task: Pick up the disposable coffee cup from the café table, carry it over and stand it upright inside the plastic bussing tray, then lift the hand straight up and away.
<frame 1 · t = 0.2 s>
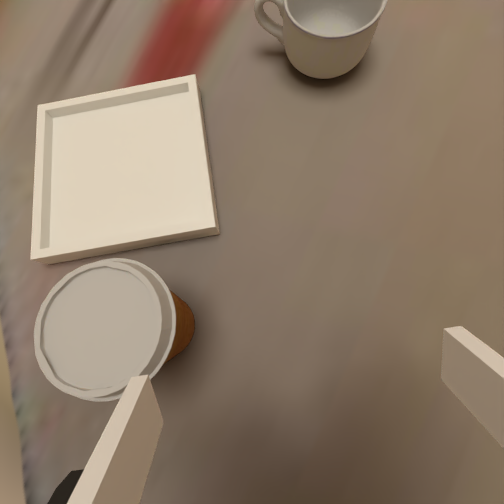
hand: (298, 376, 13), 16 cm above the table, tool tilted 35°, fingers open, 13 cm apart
teacup: (310, 58, 38), on the table
disposable coffee cup: (166, 326, 30), on the table
bussing tray: (129, 171, 35), on the table
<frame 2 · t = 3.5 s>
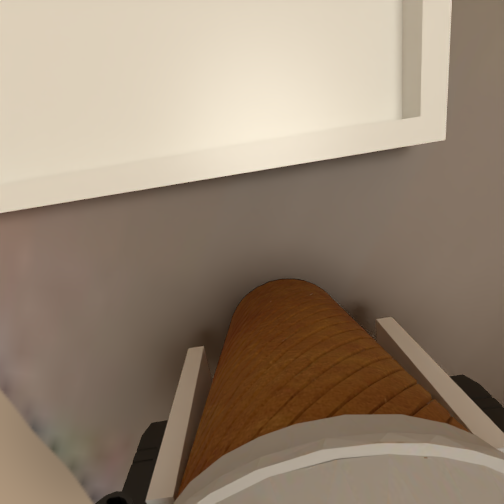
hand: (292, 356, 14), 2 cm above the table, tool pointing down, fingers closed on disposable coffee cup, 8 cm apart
disposable coffee cup: (285, 327, 17), on the table, touching gripper
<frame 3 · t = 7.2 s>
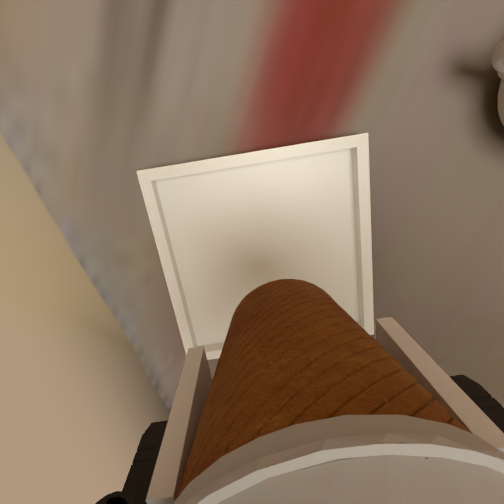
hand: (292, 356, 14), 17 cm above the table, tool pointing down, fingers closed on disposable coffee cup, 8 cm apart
disposable coffee cup: (285, 327, 17), point 14 cm above the table, touching gripper
bussing tray: (265, 253, 30), on the table
when the fingers open (4 cm above the table, at t = 11.2 s): disposable coffee cup moves 3 cm, resting on bussing tray.
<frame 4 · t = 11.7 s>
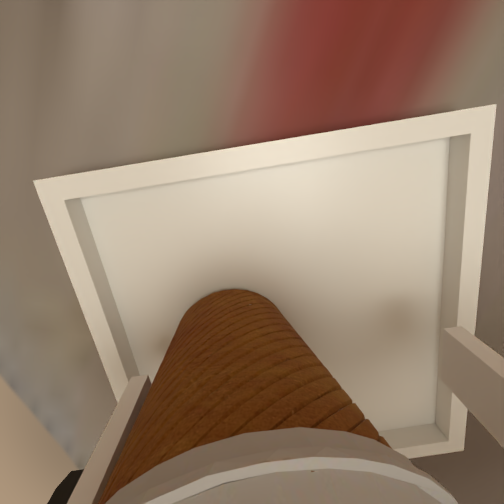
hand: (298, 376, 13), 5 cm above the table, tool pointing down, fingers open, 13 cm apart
disposable coffee cup: (232, 338, 16), point 1 cm above the table, touching bussing tray, gripper
bussing tray: (282, 316, 18), on the table
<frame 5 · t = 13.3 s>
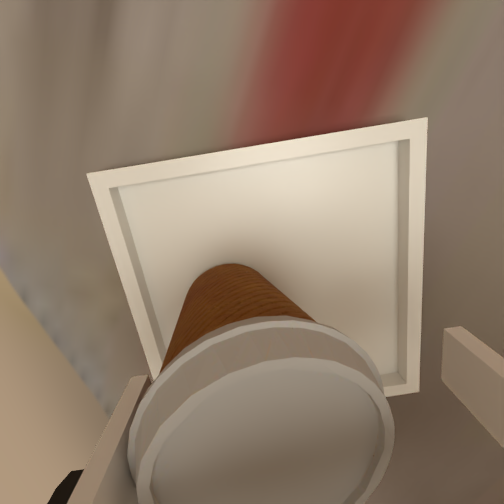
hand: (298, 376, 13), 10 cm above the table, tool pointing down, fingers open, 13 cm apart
disposable coffee cup: (229, 303, 21), point 2 cm above the table, touching bussing tray, gripper
bussing tray: (273, 284, 22), on the table
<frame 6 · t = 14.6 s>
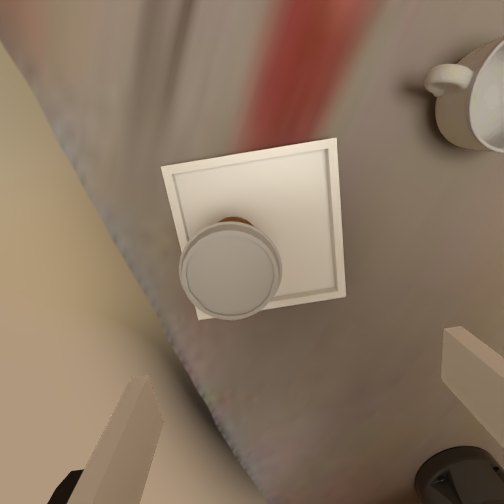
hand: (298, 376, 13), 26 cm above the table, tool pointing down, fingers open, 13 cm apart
teacup: (453, 100, 34), on the table
disposable coffee cup: (234, 240, 37), point 1 cm above the table, touching bussing tray
bussing tray: (259, 232, 38), on the table
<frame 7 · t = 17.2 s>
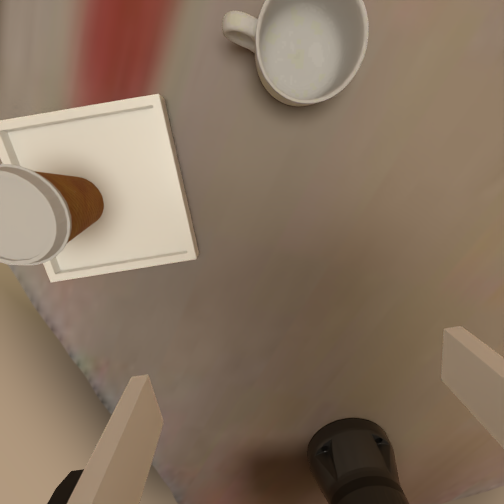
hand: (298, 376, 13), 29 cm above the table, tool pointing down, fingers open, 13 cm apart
teacup: (284, 59, 34), on the table
disposable coffee cup: (79, 201, 37), point 1 cm above the table, touching bussing tray
bussing tray: (108, 194, 38), on the table
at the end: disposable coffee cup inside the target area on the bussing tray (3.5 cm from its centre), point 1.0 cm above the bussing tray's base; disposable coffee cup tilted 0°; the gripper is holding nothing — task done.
